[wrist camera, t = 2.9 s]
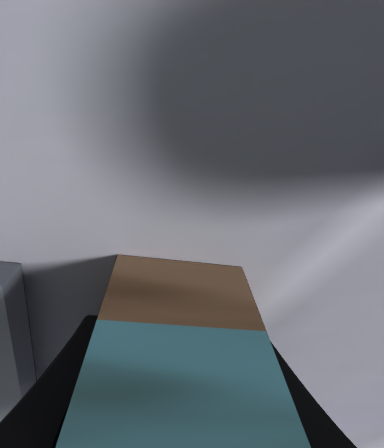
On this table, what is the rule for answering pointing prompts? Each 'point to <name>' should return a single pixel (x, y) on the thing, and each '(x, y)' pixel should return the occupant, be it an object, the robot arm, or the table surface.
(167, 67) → the table surface
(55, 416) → the robot arm
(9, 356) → the plate
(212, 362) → the teal and brown block
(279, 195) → the table surface
